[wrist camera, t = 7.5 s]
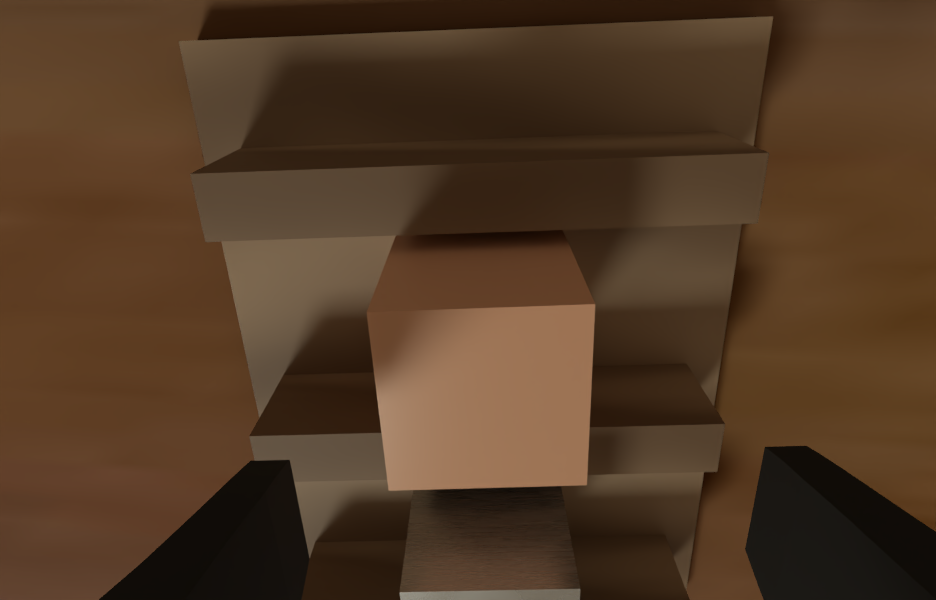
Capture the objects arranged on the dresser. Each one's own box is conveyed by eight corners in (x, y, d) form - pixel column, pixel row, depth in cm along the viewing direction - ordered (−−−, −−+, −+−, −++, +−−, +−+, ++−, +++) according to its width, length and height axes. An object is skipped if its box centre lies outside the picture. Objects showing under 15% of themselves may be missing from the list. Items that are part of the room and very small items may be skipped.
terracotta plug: (552, 343, 18) (587, 485, 12) (414, 348, 18) (388, 490, 12) (553, 210, 16) (595, 304, 11) (403, 216, 16) (366, 312, 11)
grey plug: (547, 523, 20) (574, 705, 15) (429, 526, 21) (413, 707, 15) (549, 426, 19) (580, 588, 13) (421, 429, 19) (399, 592, 13)
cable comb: (673, 594, 23) (711, 700, 19) (310, 601, 23) (279, 706, 20) (755, 17, 15) (845, 12, 11) (196, 40, 15) (109, 43, 12)
